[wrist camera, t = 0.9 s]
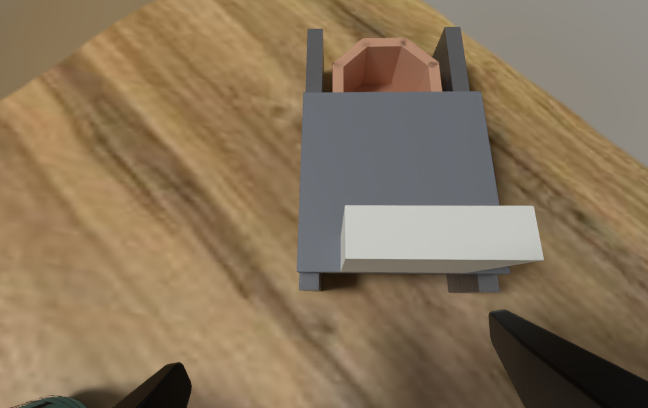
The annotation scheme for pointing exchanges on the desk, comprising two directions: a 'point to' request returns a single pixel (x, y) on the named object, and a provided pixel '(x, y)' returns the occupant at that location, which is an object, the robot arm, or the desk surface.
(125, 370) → the desk surface
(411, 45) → the terracotta cup
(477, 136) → the sliding lid
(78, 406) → the beverage bottle
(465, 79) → the metal rails
